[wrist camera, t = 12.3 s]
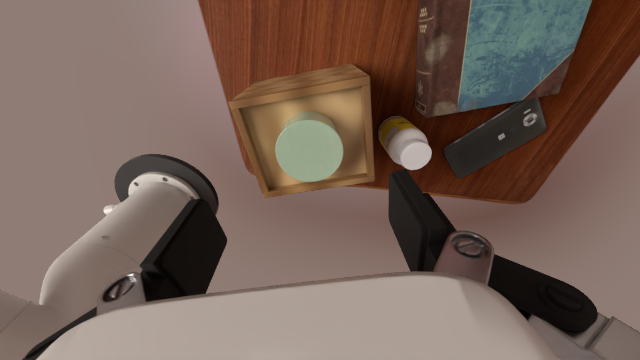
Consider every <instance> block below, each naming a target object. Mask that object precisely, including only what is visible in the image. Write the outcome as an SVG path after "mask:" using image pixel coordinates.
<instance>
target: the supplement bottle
mask: <svg viewBox="0 0 640 360" xmlns="http://www.w3.org/2000/svg"><path fill="white" fill-rule="evenodd" d="M378 139H379V141H380V143H381V144H382V146H383V147H384V149H385V150H386V152H387V153H388V155H389V156H390V158H391V159H392V160H393V161H394V162H395V163H397V164H400V165H403V166H404V167H405V168H407V169H409V170H416V169H420V168H422V167H423V166H425V165H426V164H427V163H428V162H429V160H430V158H431V155H432V151H431V148H430V146H429V145H428V141H427V138H426V136H425V135H424V134H423V133H422V132H421V131H420V130H419V129H418V128H416V127H415V126H414V125H413V124H412V123H410V122H409V121H408V120H407V119H405V118H404V117H401V116H393V117H390V118H388V119H386V120H385V121H384V122H383V123H382V124H381V125H380V127H379V130H378Z"/></svg>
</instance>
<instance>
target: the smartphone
mask: <svg viewBox="0 0 640 360" xmlns="http://www.w3.org/2000/svg"><path fill="white" fill-rule="evenodd" d="M545 130H546V122H545V119H544V115H543V112H542V108H541V105H540V101H539V98H532V99H527V100H522V101H518V102H517V103H515V104H514V105H512V106H510V107H509V108H507V109H506V110H504V111H502V112H501V113H499V114H498V115H496V116H494V117H493V118H491V119H490V120H488V121H486V122H485V123H483V124H482V125H480V126H478V127H477V128H475V129H474V130H472V131H470V132H469V133H467V134H466V135H464V136H462V137H461V138H459V139H458V140H456V141H454V142H453V143H451V144H450V145H448V146H447V147H445V148H444V149H443V154H444V155H445V157H446V159H447V161H448V162H449V164H450V166H451V168H452V169H453V171H454V173H455V174H456V176H457V177H458V178H463V177H465V176H467V175H469V174H470V173H472V172H474V171H476V170H477V169H479V168H481V167H483V166H484V165H486V164H488V163H490V162H491V161H493V160H495V159H497V158H499V157H500V156H502V155H504V154H506V153H507V152H509V151H511V150H513V149H514V148H516V147H518V146H520V145H522V144H523V143H525V142H527V141H529V140H530V139H532V138H534V137H536V136H537V135H539V134H541V133H543V132H544V131H545Z"/></svg>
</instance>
